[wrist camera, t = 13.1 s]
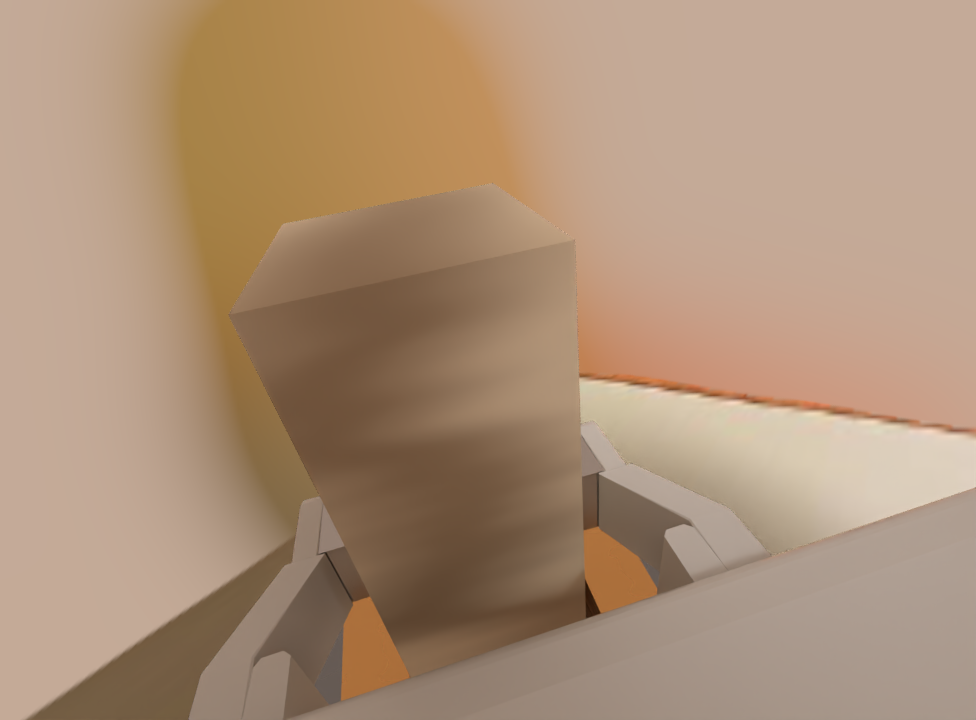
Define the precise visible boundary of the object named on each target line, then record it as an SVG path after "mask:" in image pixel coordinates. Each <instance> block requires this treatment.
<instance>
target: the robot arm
mask: <svg viewBox="0 0 976 720" xmlns="http://www.w3.org/2000/svg"><path fill="white" fill-rule="evenodd" d="M580 426H581V461H582V495H583V530H587V529H591V528H595V527H598V526H599V529H601V530H602V531H603V532H605V533H606V534H608V535H609V536H610V537H612V538H613V539H615V540H616V541H617V542H619V543H620V544H622V545H623V546H624V547H626V548H627V549H629V550H630V551H631V552H633V553H634V554H635V555H637V556H638V557H640V558H641V559H642V560H644V561H645V562H647V563H648V564H649V565H651V566H652V567H654V568H655V569H656V570H658V571H659V572H660V574H659V581H658V589H657V595H655V596H652V597H649V598H646V599H643V600H640V601H637V602H634V603H631V604H628V605H625V606H622V607H619V608H616V609H613V610H610V611H607V612H604V613H601V614H598V615H595V616H592V617H589V618H586V619H584V620H581V621H578V622H575V623H572V624H569V625H566V626H563V627H560V628H557V629H554V630H551V631H548V632H545V633H542V634H539V635H536V636H533V637H530V638H527V639H524V640H521V641H518V642H515V643H512V644H509V645H506V646H503V647H500V648H497V649H494V650H491V651H488V652H486V653H483V654H480V655H477V656H474V657H471V658H468V659H465V660H462V661H459V662H456V663H453V664H450V665H447V666H444V667H441V668H438V669H435V670H432V671H429V672H426V673H423V674H420V675H417V676H414V677H411V678H408V679H405V680H402V681H400V682H397V683H394V684H391V685H388V686H385V687H382V688H379V689H376V690H373V691H370V692H367V693H364V694H361V695H358V696H355V697H352V698H349V699H346V700H343V701H340V702H337V703H334V704H331V705H329V704H328V703H327V701H326V700H325V699H324V698H323V696H322V695H321V694H320V692H319V691H318V690H317V689H316V687H315V686H314V685H315V683H316V681H317V679H318V676H319V674H320V672H321V670H322V668H323V666H324V664H325V662H326V660H327V658H328V656H329V654H330V652H331V650H332V648H333V645H334V643H335V641H336V639H337V637H338V635H339V633H340V631H341V629H342V627H343V625H344V623H345V621H346V619H347V616H348V614H349V612H350V610H351V608H352V606H353V603H352V602H355V601H358V600H361V599H364V598H367V597H370V595H369V593H368V591H367V589H366V587H365V585H364V583H363V581H362V579H361V577H360V575H359V573H358V571H357V569H356V567H355V566H354V564H353V562H352V560H351V558H350V556H349V554H348V552H347V550H346V548H345V546H344V544H343V542H342V540H341V538H340V536H339V534H338V532H337V530H336V528H335V526H334V524H333V522H332V520H331V518H330V516H329V514H328V512H327V510H326V508H325V506H324V504H323V502H322V500H321V498H320V496H319V497H315V498H311V499H307V500H304V501H303V502H302V504H301V506H300V511H299V517H298V524H297V531H296V537H295V543H294V550H293V556H292V563H289V564H286V565H284V566H283V568H282V569H281V570H280V572H279V573H278V574H277V576H276V577H275V578H274V580H273V581H272V582H271V583H270V585H269V586H268V587H267V589H266V590H265V591H264V593H263V594H262V595H261V597H260V598H259V599H258V600H257V602H256V603H255V604H254V606H253V607H252V608H251V610H250V611H249V612H248V614H247V615H246V616H245V617H244V619H243V620H242V621H241V623H240V624H239V625H238V627H237V628H236V629H235V631H234V632H233V633H232V634H231V636H230V637H229V638H228V640H227V641H226V642H225V644H224V645H223V646H222V648H221V649H220V650H219V651H218V653H217V654H216V655H215V657H214V658H213V659H212V661H211V662H210V663H209V665H208V666H207V667H206V668H205V670H204V671H203V672H202V674H201V676H200V679H199V683H198V686H197V690H196V693H195V697H194V701H193V704H192V708H191V711H190V715H189V718H188V720H976V488H973V489H970V490H967V491H964V492H961V493H958V494H955V495H952V496H949V497H946V498H943V499H940V500H937V501H934V502H931V503H928V504H925V505H923V506H920V507H917V508H914V509H911V510H908V511H905V512H902V513H899V514H896V515H893V516H890V517H887V518H884V519H881V520H878V521H875V522H872V523H869V524H866V525H863V526H860V527H857V528H854V529H851V530H848V531H845V532H842V533H839V534H836V535H833V536H830V537H827V538H824V539H821V540H818V541H815V542H813V543H810V544H807V545H804V546H801V547H798V548H795V549H792V550H789V551H786V552H783V553H780V554H777V555H774V556H772V555H771V554H770V553H769V552H768V551H767V550H766V549H765V548H764V546H763V545H762V544H761V543H760V542H759V541H758V540H757V538H756V537H755V536H754V535H753V534H752V533H751V532H750V531H749V529H748V528H747V527H746V526H745V525H744V524H743V523H742V521H741V520H740V519H739V518H738V517H737V516H736V515H735V514H734V512H733V511H732V510H731V509H730V508H728V507H726V506H724V505H722V504H719V503H717V502H715V501H713V500H711V499H709V498H706V497H704V496H702V495H700V494H698V493H695V492H693V491H691V490H689V489H687V488H685V487H682V486H680V485H678V484H676V483H674V482H672V481H669V480H667V479H665V478H663V477H661V476H658V475H656V474H654V473H652V472H650V471H648V470H645V469H643V468H641V467H639V466H637V465H635V464H628V465H626V464H625V462H624V461H623V459H622V458H621V457H620V455H619V454H618V453H617V451H616V450H615V448H614V447H613V446H612V444H611V443H610V441H609V440H608V439H607V437H606V436H605V434H604V433H603V432H602V430H601V429H600V428H599V426H598V425H597V423H596V422H594V421H590V422H586V423H583V424H580Z"/></svg>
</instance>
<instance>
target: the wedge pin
mask: <svg viewBox="0 0 976 720" xmlns="http://www.w3.org/2000/svg"><path fill="white" fill-rule="evenodd" d="M229 317H230V319H231V321H232V323H233V325H234V327H235V329H236V331H237V333H238V335H239V337H240V339H241V341H242V343H243V345H244V347H245V349H246V351H247V353H248V355H249V357H250V359H251V361H252V363H253V365H254V367H255V369H256V371H257V373H258V375H259V377H260V379H261V381H262V383H263V385H264V387H265V389H266V391H267V393H268V395H269V397H270V399H271V401H272V403H273V404H274V407H275V409H276V411H277V412H278V415H279V417H280V419H281V421H282V422H283V424H284V426H285V428H286V430H287V432H288V434H289V436H290V438H291V440H292V442H293V444H294V446H295V448H296V450H297V452H298V454H299V456H300V458H301V460H302V462H303V464H304V466H305V468H306V470H307V472H308V474H309V476H310V478H311V480H312V482H313V484H314V486H315V488H316V490H317V492H318V494H319V496H320V498H321V500H322V502H323V504H324V506H325V508H326V510H327V512H328V514H329V516H330V518H331V520H332V522H333V524H334V526H335V528H336V530H337V532H338V534H339V536H340V538H341V540H342V542H343V544H344V546H345V548H346V550H347V552H348V554H349V556H350V558H351V560H352V562H353V564H354V566H355V567H356V569H357V571H358V573H359V575H360V577H361V579H362V581H363V583H364V585H365V587H366V589H367V591H368V593H369V595H370V597H371V599H372V601H373V603H374V605H375V607H376V609H377V611H378V613H379V615H380V617H381V619H382V621H383V623H384V625H385V627H386V629H387V631H388V633H389V635H390V637H391V639H392V641H393V643H394V645H395V647H396V649H397V651H398V653H399V655H400V657H401V659H402V661H403V663H404V665H405V667H406V669H407V671H408V673H409V675H410V677H414V676H417V675H420V674H423V673H426V672H429V671H432V670H435V669H438V668H441V667H444V666H447V665H450V664H453V663H456V662H459V661H462V660H465V659H468V658H471V657H474V656H477V655H480V654H483V653H486V652H488V651H491V650H494V649H497V648H500V647H503V646H506V645H509V644H512V643H515V642H518V641H521V640H524V639H527V638H530V637H533V636H536V635H539V634H542V633H545V632H548V631H551V630H554V629H557V628H560V627H563V626H566V625H569V624H572V623H575V622H578V621H581V620H584V619H586V600H585V565H584V530H583V495H582V461H581V426H580V391H579V359H578V358H579V356H578V324H577V323H578V322H577V289H576V254H575V239H573V238H572V237H570V236H569V235H568V234H566V233H565V232H563V231H562V230H560V229H559V228H557V227H556V226H554V225H553V224H551V223H550V222H549V221H547V220H546V219H544V218H543V217H541V216H540V215H538V214H537V213H536V212H534V211H533V210H531V209H530V208H528V207H527V206H525V205H524V204H522V203H521V202H520V201H518V200H517V199H515V198H514V197H512V196H511V195H509V194H508V193H507V192H505V191H504V190H502V189H501V188H499V187H498V186H496V185H495V184H493V183H492V184H487V185H481V186H476V187H471V188H467V189H461V190H456V191H451V192H445V193H440V194H435V195H430V196H425V197H420V198H414V199H409V200H404V201H399V202H394V203H389V204H384V205H378V206H374V207H368V208H363V209H358V210H353V211H347V212H342V213H337V214H332V215H327V216H322V217H316V218H311V219H306V220H302V221H296V222H291V223H286V224H283V225H282V226H281V228H280V230H279V232H278V233H277V235H276V236H275V238H274V240H273V241H272V243H271V245H270V246H269V248H268V250H267V252H266V253H265V255H264V256H263V258H262V260H261V261H260V263H259V265H258V266H257V268H256V270H255V272H254V273H253V275H252V276H251V278H250V280H249V281H248V283H247V285H246V286H245V288H244V290H243V291H242V293H241V295H240V296H239V298H238V300H237V301H236V303H235V305H234V306H233V308H232V310H231V311H230V313H229Z"/></svg>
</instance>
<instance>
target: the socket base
mask: <svg viewBox="0 0 976 720" xmlns="http://www.w3.org/2000/svg"><path fill="white" fill-rule="evenodd" d="M584 565H585V600H586V618H589V617H592V616H595V615H598V614H601V613H604V612H607V611H610V610H613V609H616V608H619V607H622V606H625V605H628V604H631V603H634V602H637V601H640V600H643V599H646V598H649V597H652V596H655V595H657V589H658V581H659V574H660V572H659V571H658V570H656V569H655V568H654V567H652V566H651V565H649V564H648V563H647V562H645V561H644V560H642V559H641V558H640V557H638V556H637V555H635V554H634V553H633V552H631V551H630V550H629V549H627V548H626V547H624V546H623V545H622V544H620V543H619V542H617V541H616V540H615V539H613V538H612V537H610V536H609V535H608V534H606V533H605V532H603V531H602V530H601V529H599V526H598V527H595V528H591V529H587V530H584ZM352 603H353V606H352V608H351V610H350V612H349V614H348V616H347V619H346V621H345V623H344V625H343V627H342V629H341V631H340V633H339V635H338V637H337V639H336V641H335V643H334V645H333V648H332V650H331V652H330V654H329V656H328V658H327V660H326V662H325V664H324V666H323V668H322V670H321V672H320V674H319V676H318V679H317V681H316V683H315V685H314V686H315V687H316V689H317V690H318V691H319V692H320V694H321V695H322V696H323V698H324V699H325V700H326V701H327V703H328V704H329V705H331V704H334V703H337V702H340V701H343V700H346V699H349V698H352V697H355V696H358V695H361V694H364V693H367V692H370V691H373V690H376V689H379V688H382V687H385V686H388V685H391V684H394V683H397V682H400V681H402V680H405V679H408V678H411V677H410V675H409V673H408V671H407V669H406V667H405V665H404V663H403V661H402V659H401V657H400V655H399V653H398V651H397V649H396V647H395V645H394V643H393V641H392V639H391V637H390V635H389V633H388V631H387V629H386V627H385V625H384V623H383V621H382V619H381V617H380V615H379V613H378V611H377V609H376V607H375V605H374V603H373V601H372V599H371V597H367V598H364V599H361V600H358V601H355V602H352Z"/></svg>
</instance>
